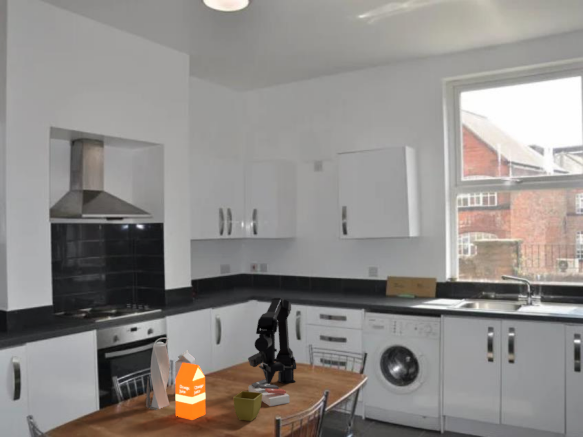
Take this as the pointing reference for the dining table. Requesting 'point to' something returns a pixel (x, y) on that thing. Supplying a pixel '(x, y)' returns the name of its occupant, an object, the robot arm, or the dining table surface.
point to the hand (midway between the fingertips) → (268, 384)
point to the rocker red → (275, 391)
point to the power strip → (271, 396)
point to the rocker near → (259, 383)
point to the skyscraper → (159, 376)
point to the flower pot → (247, 405)
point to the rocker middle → (268, 386)
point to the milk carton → (183, 359)
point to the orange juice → (190, 392)
